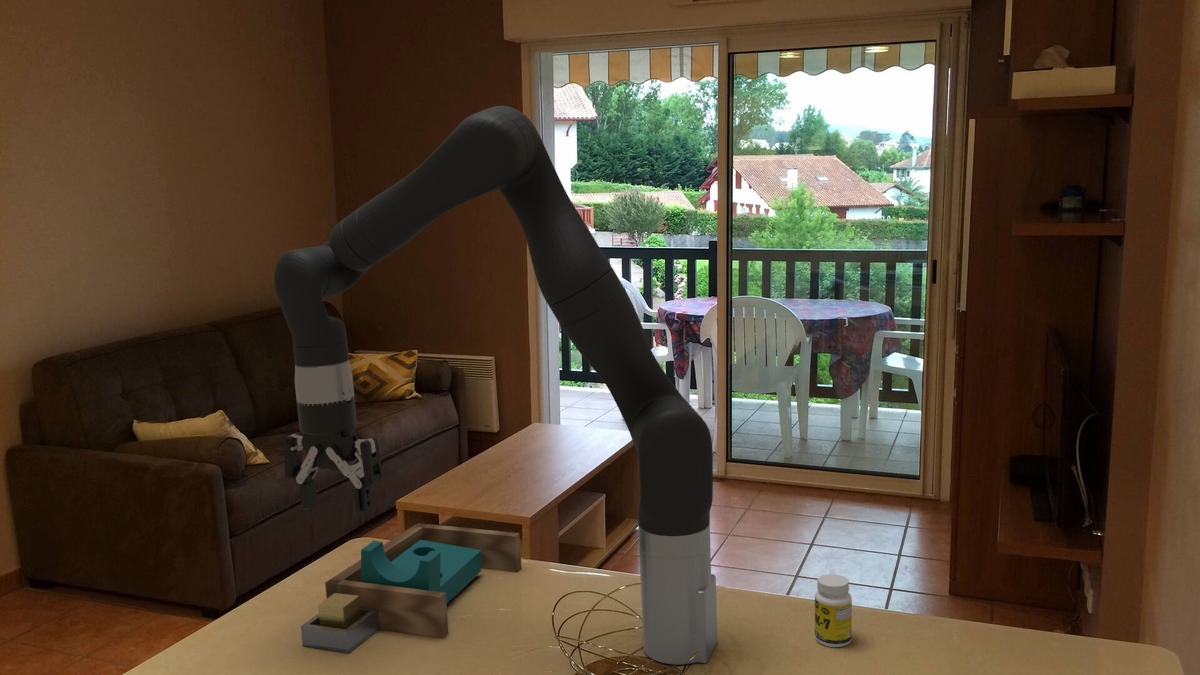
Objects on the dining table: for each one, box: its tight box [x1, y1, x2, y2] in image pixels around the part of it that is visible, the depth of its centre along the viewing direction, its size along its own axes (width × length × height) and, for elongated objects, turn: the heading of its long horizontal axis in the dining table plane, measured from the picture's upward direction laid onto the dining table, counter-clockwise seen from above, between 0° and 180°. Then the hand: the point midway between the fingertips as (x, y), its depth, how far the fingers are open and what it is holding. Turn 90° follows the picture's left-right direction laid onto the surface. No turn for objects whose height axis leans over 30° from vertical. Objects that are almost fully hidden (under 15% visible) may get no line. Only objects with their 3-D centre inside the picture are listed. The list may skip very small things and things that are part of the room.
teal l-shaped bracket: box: [360, 540, 482, 604], centre depth 146 cm, size 18×11×10 cm, turn 163°
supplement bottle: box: [814, 573, 853, 648], centre depth 127 cm, size 5×5×8 cm
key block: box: [317, 593, 361, 629], centre depth 134 cm, size 4×4×5 cm
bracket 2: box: [324, 522, 522, 639], centre depth 147 cm, size 19×25×6 cm
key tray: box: [300, 607, 381, 654], centre depth 134 cm, size 8×8×3 cm
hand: (336, 510), depth 132 cm, fingers open, 8 cm apart
